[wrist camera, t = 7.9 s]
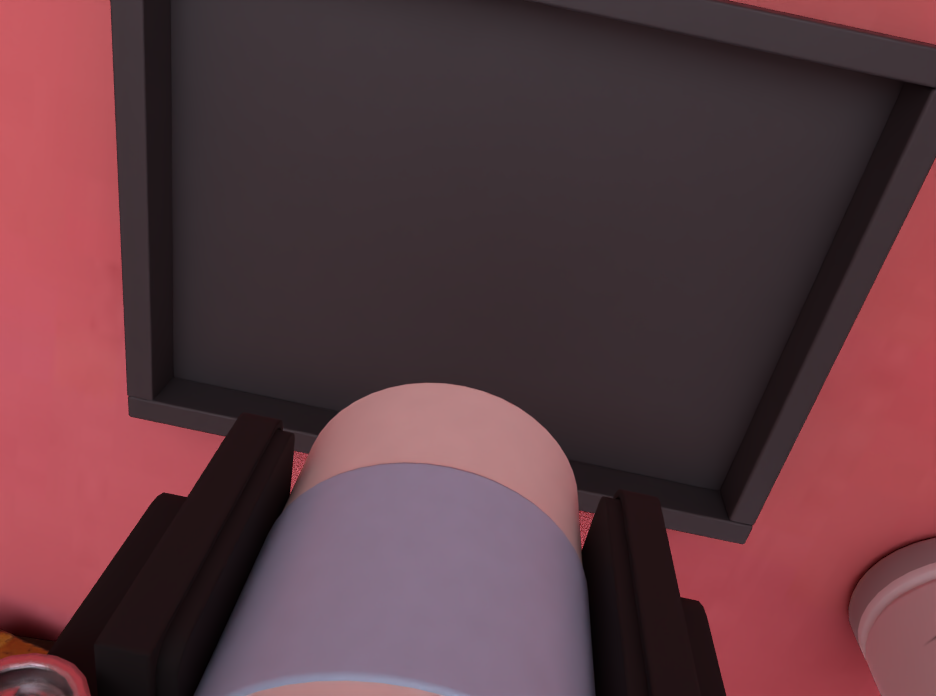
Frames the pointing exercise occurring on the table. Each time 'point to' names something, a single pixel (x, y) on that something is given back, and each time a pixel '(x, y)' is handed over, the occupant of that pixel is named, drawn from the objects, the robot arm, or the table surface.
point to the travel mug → (899, 620)
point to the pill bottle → (418, 561)
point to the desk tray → (514, 219)
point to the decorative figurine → (22, 645)
